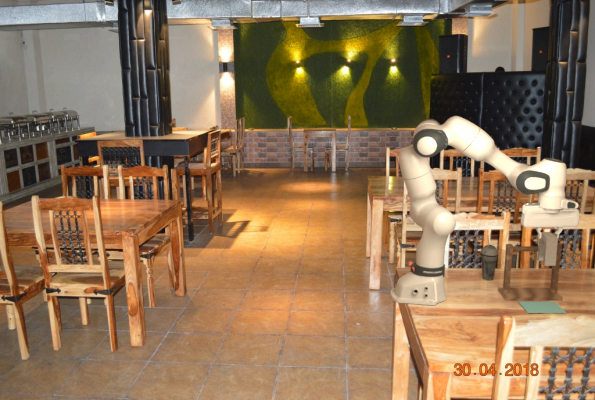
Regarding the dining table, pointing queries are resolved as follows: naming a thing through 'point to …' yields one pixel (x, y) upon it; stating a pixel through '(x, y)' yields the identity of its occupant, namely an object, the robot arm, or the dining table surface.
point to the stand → (529, 293)
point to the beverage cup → (488, 261)
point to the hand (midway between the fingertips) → (548, 238)
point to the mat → (542, 307)
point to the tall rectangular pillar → (547, 249)
